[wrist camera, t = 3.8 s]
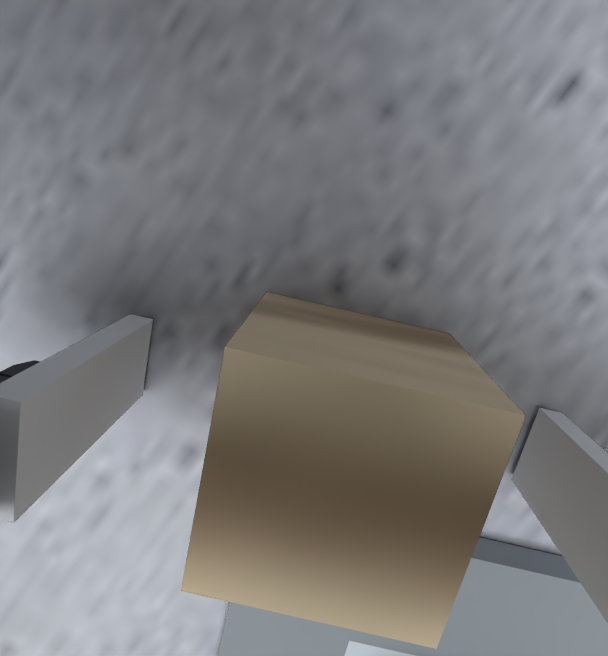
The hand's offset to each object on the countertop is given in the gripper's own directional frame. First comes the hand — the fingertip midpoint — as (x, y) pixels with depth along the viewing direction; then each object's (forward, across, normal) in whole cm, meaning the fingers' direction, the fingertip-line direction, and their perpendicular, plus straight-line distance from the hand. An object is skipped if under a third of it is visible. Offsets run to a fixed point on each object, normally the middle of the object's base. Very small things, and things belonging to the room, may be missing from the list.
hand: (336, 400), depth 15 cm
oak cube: (0, 0, 0) cm, 0 cm away
